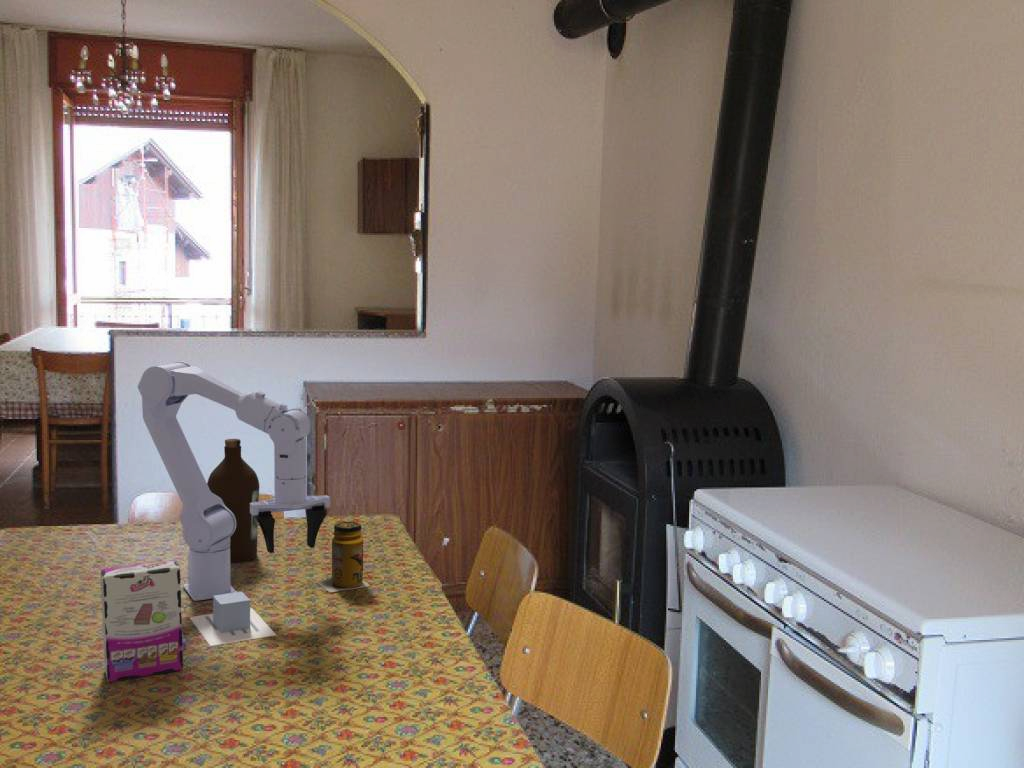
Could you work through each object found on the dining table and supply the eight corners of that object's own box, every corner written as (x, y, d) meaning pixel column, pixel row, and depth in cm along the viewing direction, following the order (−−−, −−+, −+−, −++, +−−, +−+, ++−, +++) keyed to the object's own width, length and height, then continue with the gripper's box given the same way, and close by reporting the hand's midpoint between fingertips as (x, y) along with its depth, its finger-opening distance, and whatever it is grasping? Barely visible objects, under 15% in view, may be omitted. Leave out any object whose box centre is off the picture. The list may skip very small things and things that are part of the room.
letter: (189, 617, 182) (189, 617, 182) (251, 608, 188) (251, 607, 188) (210, 646, 169) (210, 645, 169) (276, 635, 175) (276, 634, 175)
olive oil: (206, 565, 212) (204, 445, 209) (209, 550, 222) (207, 435, 219) (259, 563, 214) (258, 444, 211) (260, 548, 225) (259, 435, 222)
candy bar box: (178, 659, 164) (176, 558, 162) (184, 670, 159) (182, 567, 157) (102, 671, 159) (99, 567, 157) (106, 683, 154) (103, 576, 152)
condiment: (370, 586, 201) (371, 526, 200) (330, 593, 197) (330, 532, 195) (354, 576, 207) (355, 517, 206) (315, 582, 203) (315, 523, 201)
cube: (213, 623, 179) (212, 595, 179) (242, 619, 182) (241, 591, 181) (221, 633, 175) (220, 604, 174) (250, 628, 178) (250, 600, 177)
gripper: (257, 484, 182) (258, 559, 184) (336, 477, 189) (336, 549, 191) (246, 476, 188) (247, 549, 190) (322, 469, 195) (323, 540, 197)
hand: (290, 549), depth 191 cm, fingers open, 7 cm apart
